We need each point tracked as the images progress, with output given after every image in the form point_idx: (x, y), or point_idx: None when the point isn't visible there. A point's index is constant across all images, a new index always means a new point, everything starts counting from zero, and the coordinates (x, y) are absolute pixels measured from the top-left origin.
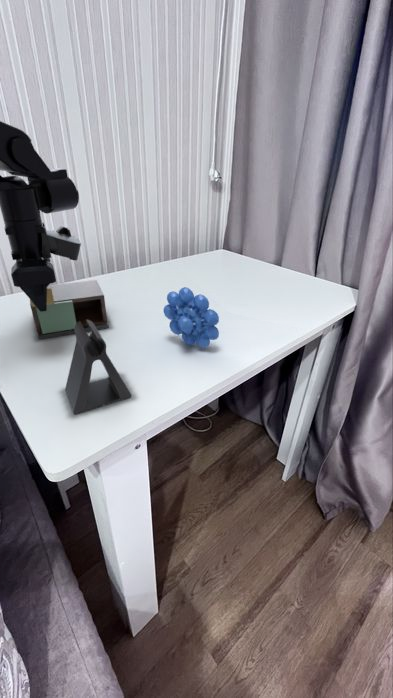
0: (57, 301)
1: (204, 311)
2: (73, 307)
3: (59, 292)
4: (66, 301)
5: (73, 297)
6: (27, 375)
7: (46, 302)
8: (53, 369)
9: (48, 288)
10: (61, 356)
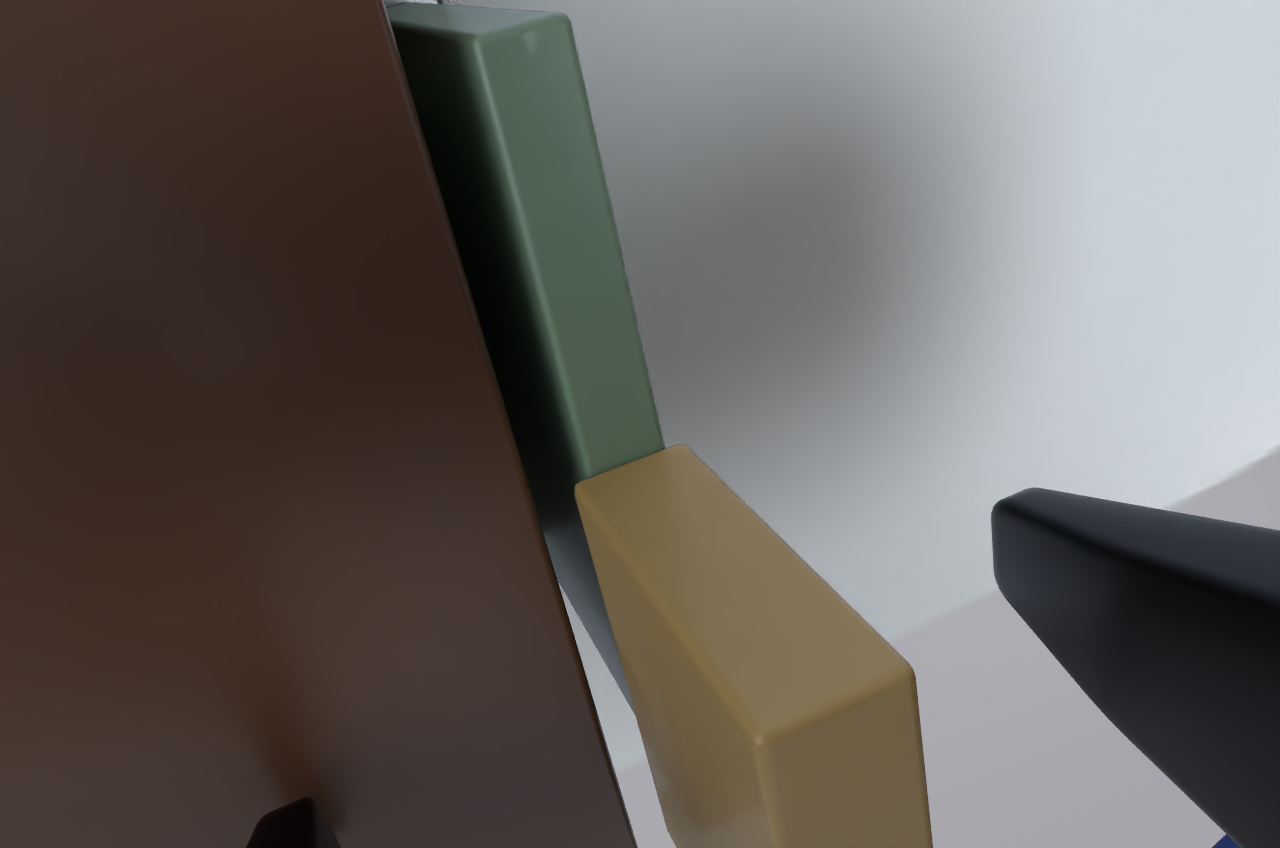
0: (506, 423)
1: None
2: (512, 9)
3: None
4: (562, 187)
5: (261, 11)
6: (1143, 382)
7: (1244, 528)
8: (1139, 179)
9: (890, 752)
10: (959, 142)
